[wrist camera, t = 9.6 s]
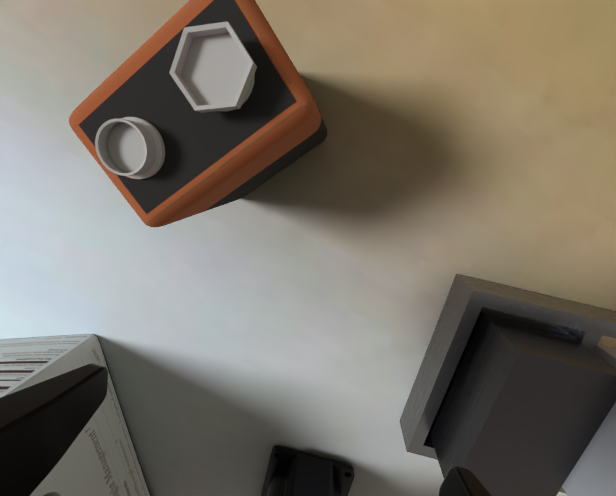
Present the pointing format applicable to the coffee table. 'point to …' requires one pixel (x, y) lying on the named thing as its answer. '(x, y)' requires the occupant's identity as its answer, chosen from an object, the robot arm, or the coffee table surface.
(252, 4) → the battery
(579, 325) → the rack
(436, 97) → the coffee table surface
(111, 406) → the supplement box
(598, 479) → the grey block
